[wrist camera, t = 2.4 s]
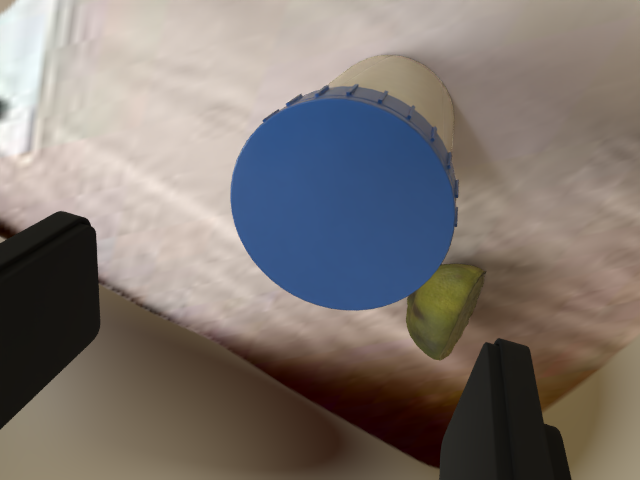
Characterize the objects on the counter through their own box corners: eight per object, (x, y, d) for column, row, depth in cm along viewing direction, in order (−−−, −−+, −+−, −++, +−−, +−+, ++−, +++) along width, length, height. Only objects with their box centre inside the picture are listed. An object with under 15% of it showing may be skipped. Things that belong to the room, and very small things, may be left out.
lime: (478, 239, 26) (480, 290, 22) (504, 314, 28) (510, 375, 23) (397, 260, 28) (384, 311, 24) (425, 329, 29) (418, 389, 25)
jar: (384, 23, 23) (328, 53, 14) (483, 121, 24) (495, 211, 14) (298, 126, 26) (207, 205, 17) (388, 209, 27) (349, 328, 18)
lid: (339, 32, 15) (323, 38, 13) (507, 194, 15) (512, 219, 14) (214, 190, 18) (188, 211, 16) (357, 315, 19) (346, 347, 17)
